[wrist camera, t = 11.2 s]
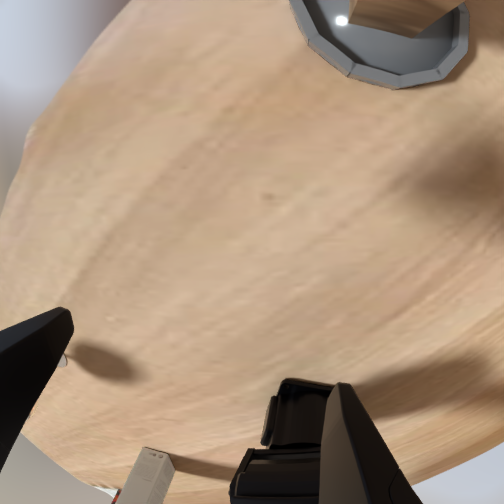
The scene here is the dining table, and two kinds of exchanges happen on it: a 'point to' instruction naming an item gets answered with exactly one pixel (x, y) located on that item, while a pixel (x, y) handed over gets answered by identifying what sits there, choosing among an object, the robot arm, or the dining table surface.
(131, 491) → the skincare box
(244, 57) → the dining table surface
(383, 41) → the dish
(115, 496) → the deodorant
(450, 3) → the walnut post
